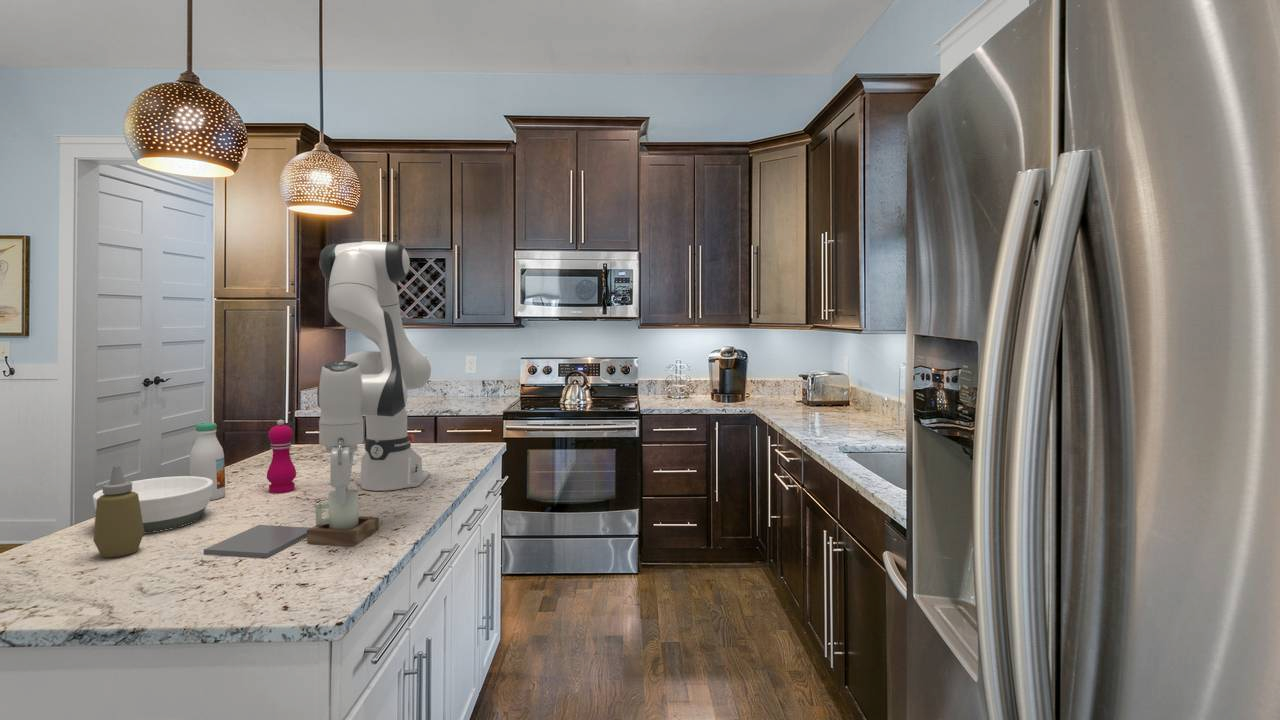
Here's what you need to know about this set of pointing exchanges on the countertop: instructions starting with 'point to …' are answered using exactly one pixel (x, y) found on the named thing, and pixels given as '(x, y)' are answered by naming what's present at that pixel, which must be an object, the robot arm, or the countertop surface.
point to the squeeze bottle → (118, 518)
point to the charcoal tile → (259, 541)
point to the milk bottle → (208, 458)
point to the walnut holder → (343, 533)
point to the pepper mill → (281, 460)
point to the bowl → (170, 500)
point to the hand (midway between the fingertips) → (342, 497)
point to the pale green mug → (340, 511)
